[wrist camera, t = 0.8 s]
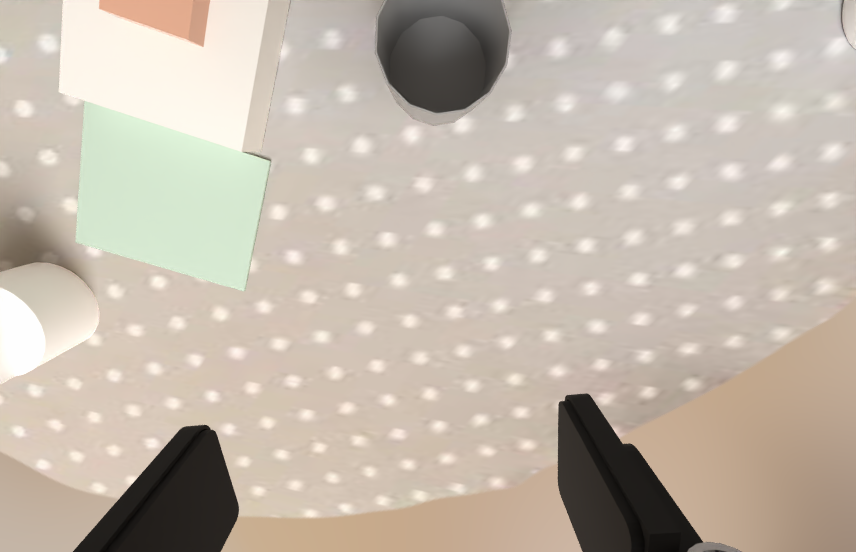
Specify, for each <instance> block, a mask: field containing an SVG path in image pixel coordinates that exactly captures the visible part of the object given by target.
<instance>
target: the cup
mask: <svg viewBox="0 0 856 552" xmlns="http://www.w3.org/2000/svg"><path fill="white" fill-rule="evenodd" d="M511 31H512V30H511V27H510V23H509V20H508V16H507V12H506V9H505V5H504V2H503V0H384V2H383V4H382V6H381V8H380V10H379V12H378V14H377V16H376V33H375V54H376V57H377V59H378V62H379V65H380V67H381V70H382V73H383V75H384V78H385V81H386V83H387V85H388V87H389V89H390V91H391V93H392V95H393V97H394V98H395V100H396V102H397V104H398V105H399V106H400V107H401V108H402V109H403V110H404V111H405V112H406V113H407V114H408V115H409V116H410V117H411V118H412V119H415V120H418V121H420V122H423V123H426V124H429V125H432V126H435V125H442V124H448V123H454V122H456V121H457V120H459V119H460V118H461V117H463V116H464V115H466V114H467V113H468V112H470V111H471V110H473V109H474V108H475V107H476V106H477V105H478V104H479V103H480V102H482V101H483V100H484V99H485V98H486V97H487V96H488V95H489V94H490V93H491V92H492V90H493V88H494V87H495V85H496V83H497V82H498V80H499V78H500V76H501V75H502V73H503V71H504V69H505V68H506V66H507V62H508V55H509V47H510V39H511Z"/></svg>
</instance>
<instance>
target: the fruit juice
mask: <svg viewBox="0 0 856 552" xmlns="http://www.w3.org/2000/svg"><path fill="white" fill-rule="evenodd" d="M842 23H843V29H844V32H845V35H846V37H847V39H848V41H849V43H850V44H851V45H852V47H853V48H854V49H855V50H856V0H844V3H843V9H842Z"/></svg>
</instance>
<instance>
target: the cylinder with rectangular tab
mask: <svg viewBox="0 0 856 552" xmlns="http://www.w3.org/2000/svg"><path fill="white" fill-rule="evenodd" d="M99 314H100V312H99V307H98V303H97V300H96V298H95V296H94V294H93V292H92V290H91V289H90V288H89V287H88V286H87V284H86V283H85V282H84V281H83V280H82V279H81V278H79V277H78V276H77V275H76V274H74V273H73V272H71V271H69V270H67V269H65V268H64V267H62V266H59V265H55V264H51V263H42V262H35V263H31V264H26V265H23V266H19V267H16V268H12V269H8V270H5V271H1V272H0V384H2V383H4V382H6V381H8V380H9V379H11V378H13V377H15V376H18V375H23V374H25V373H27V372H29V371H31V370H33V369H34V368H36V367H38V366H40V365H42V364H43V363H45V362H47V361H49V360H51V359H52V358H54V357H56V356H58V355H60V354H61V353H63V352H65V351H67V350H69V349H70V348H72V347H74V346H76V345H78V344H79V343H81V342H83V341H85V340H87V339H88V338H90V336H91V335H92V334H93V333H94V332H95V331H96V328H97V326H98V323H99Z"/></svg>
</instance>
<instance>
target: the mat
mask: <svg viewBox="0 0 856 552" xmlns="http://www.w3.org/2000/svg"><path fill="white" fill-rule="evenodd" d="M270 165H271V161H269V160H266V159H263V158H260V157H257V156H254V155H251V154H248V153H245V152H240V151H237V150H234V149H231V148H228V147H225V146H222V145H219V144H216V143H213V142H210V141H207V140H204V139H201V138H197V137H194V136H191V135H188V134H185V133H182V132H179V131H176V130H173V129H170V128H167V127H164V126H161V125H158V124H154V123H151V122H148V121H145V120H142V119H139V118H136V117H133V116H130V115H127V114H124V113H121V112H118V111H115V110H111V109H108V108H105V107H102V106H99V105H96V104H93V103H90V102H87V101H84V117H83V133H82V148H81V164H80V180H79V195H78V211H77V226H76V243H79V244H82V245H86V246H89V247H93V248H96V249H100V250H103V251H107V252H110V253H113V254H117V255H120V256H124V257H127V258H131V259H134V260H138V261H141V262H144V263H148V264H151V265H155V266H158V267H162V268H165V269H169V270H172V271H176V272H179V273H182V274H186V275H189V276H193V277H196V278H200V279H203V280H207V281H210V282H213V283H217V284H220V285H224V286H227V287H231V288H234V289H238V290H241V291H245V289H246V284H247V279H248V274H249V269H250V264H251V259H252V254H253V249H254V244H255V239H256V234H257V229H258V224H259V219H260V214H261V210H262V205H263V200H264V195H265V190H266V185H267V180H268V175H269V170H270Z"/></svg>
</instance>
